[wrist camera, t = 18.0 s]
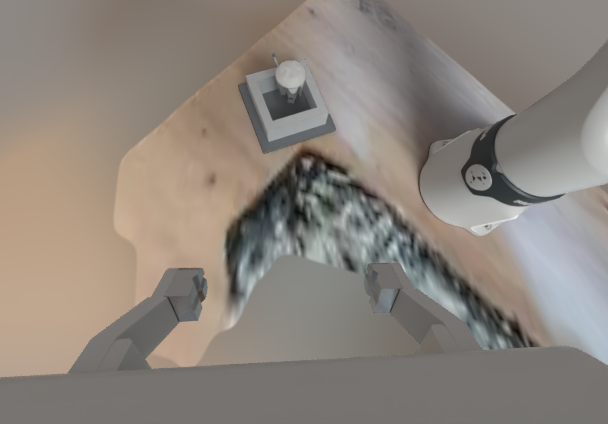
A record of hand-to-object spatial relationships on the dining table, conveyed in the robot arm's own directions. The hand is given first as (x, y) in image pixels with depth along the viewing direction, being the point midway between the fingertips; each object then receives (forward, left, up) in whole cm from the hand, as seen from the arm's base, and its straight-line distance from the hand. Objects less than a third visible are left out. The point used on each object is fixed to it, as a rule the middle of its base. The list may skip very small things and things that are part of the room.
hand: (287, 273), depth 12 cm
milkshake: (-10, -26, -27) cm, 39 cm away
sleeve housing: (-10, -26, -27) cm, 39 cm away
